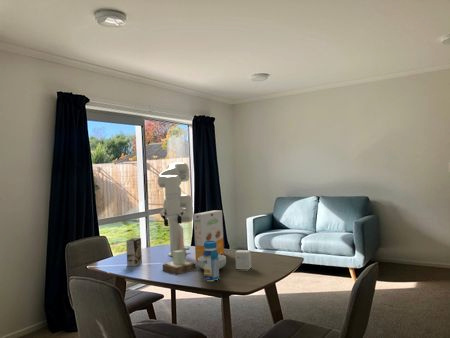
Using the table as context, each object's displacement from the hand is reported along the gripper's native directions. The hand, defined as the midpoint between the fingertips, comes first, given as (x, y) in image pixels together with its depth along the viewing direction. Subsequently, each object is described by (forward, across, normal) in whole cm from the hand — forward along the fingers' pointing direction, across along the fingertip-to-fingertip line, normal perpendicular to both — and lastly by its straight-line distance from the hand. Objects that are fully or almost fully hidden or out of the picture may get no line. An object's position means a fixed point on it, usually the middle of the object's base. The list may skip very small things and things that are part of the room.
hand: (173, 224), depth 222 cm
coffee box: (+27, +12, -27) cm, 40 cm away
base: (+26, +2, +7) cm, 27 cm away
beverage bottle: (+25, +2, +37) cm, 45 cm away
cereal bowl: (+26, -11, +22) cm, 36 cm away
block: (+22, +2, +7) cm, 23 cm away
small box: (+26, -23, +36) cm, 50 cm away
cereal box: (+27, -30, -2) cm, 41 cm away
